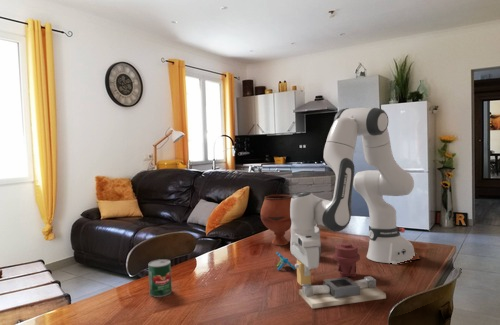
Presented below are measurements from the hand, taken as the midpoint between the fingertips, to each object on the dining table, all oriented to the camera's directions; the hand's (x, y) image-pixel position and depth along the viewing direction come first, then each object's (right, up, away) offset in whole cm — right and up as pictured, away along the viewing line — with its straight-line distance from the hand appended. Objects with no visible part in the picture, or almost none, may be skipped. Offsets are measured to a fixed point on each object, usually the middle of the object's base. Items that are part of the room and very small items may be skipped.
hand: (303, 272), depth 135 cm
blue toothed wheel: (-5, -4, +16) cm, 18 cm away
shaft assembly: (+11, -3, -12) cm, 16 cm away
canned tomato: (-52, -6, -3) cm, 53 cm away
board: (+11, -4, -12) cm, 17 cm away
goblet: (-4, -2, +56) cm, 57 cm away
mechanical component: (+18, -3, +7) cm, 20 cm away
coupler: (0, -4, 0) cm, 4 cm away
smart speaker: (+8, -3, +30) cm, 31 cm away
